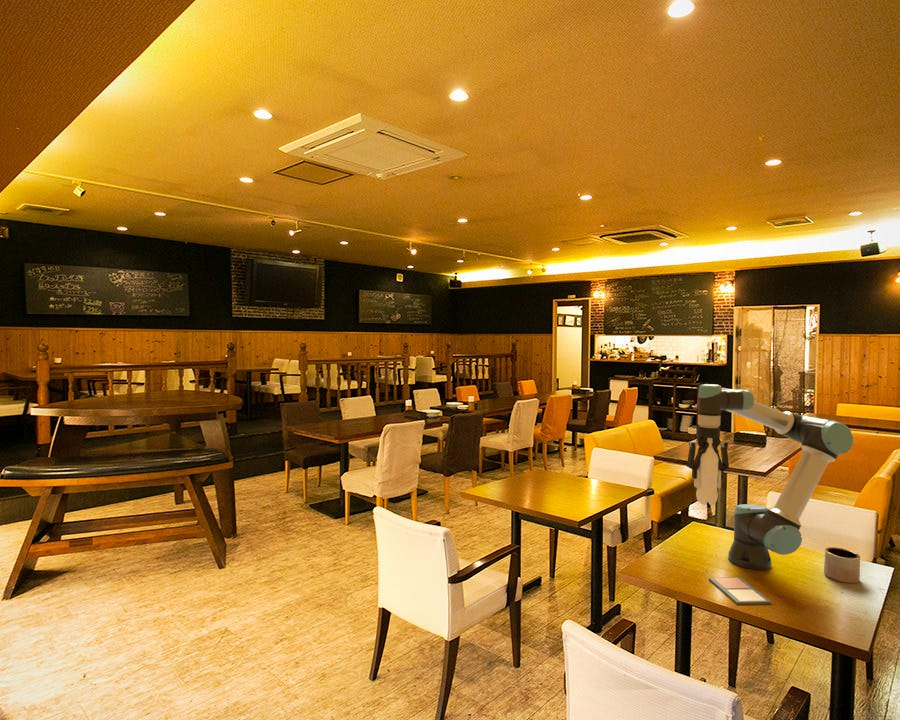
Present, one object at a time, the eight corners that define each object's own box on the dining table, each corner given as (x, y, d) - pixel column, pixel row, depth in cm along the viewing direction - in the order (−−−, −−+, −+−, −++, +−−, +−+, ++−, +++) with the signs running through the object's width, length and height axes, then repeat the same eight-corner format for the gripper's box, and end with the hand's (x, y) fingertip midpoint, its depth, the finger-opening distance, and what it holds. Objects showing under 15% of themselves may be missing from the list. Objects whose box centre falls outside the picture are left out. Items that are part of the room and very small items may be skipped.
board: (740, 579, 195) (740, 577, 195) (771, 603, 177) (771, 601, 177) (708, 579, 195) (708, 577, 195) (736, 604, 177) (736, 601, 177)
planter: (854, 574, 200) (855, 550, 200) (863, 586, 190) (864, 560, 190) (820, 569, 205) (821, 545, 204) (827, 580, 195) (828, 555, 195)
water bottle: (692, 500, 197) (693, 435, 196) (710, 500, 198) (712, 434, 196) (702, 506, 190) (704, 438, 189) (721, 506, 190) (723, 438, 189)
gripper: (730, 424, 196) (728, 484, 197) (677, 424, 196) (675, 484, 197) (741, 428, 189) (739, 490, 190) (686, 427, 189) (684, 490, 190)
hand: (707, 487), depth 193 cm, fingers closed on water bottle, 7 cm apart
